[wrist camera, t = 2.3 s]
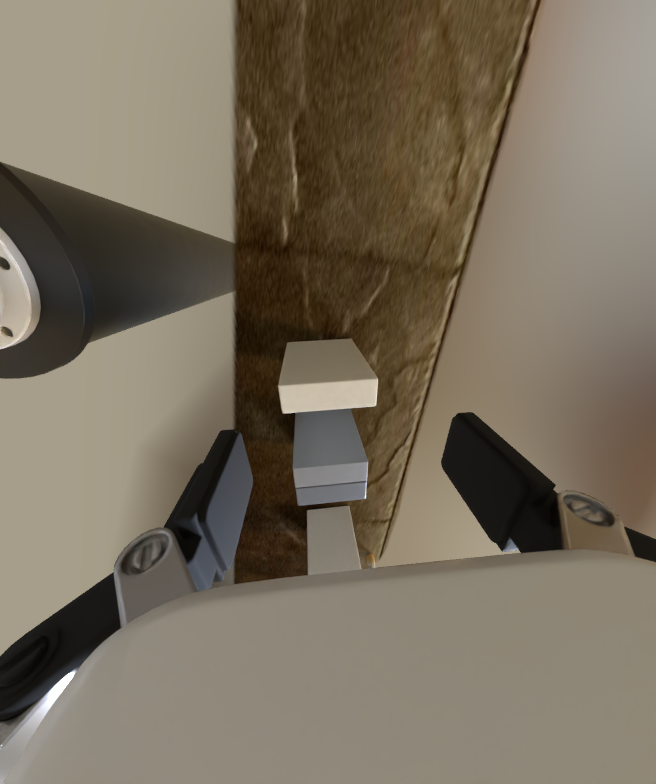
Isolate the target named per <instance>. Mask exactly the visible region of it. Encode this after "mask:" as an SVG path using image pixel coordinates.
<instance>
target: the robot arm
mask: <svg viewBox="0 0 656 784" xmlns="http://www.w3.org/2000/svg"><path fill="white" fill-rule="evenodd" d="M40 310H41V304H40V295H39V291H38V288H37V284H36V281H35V278H34V276H33V274H32V272H31V270H30V268H29V266H28V264H27V262H26V260H25V258H24V257H23V255H22V254H21V253H20V251H19V250H18V248H17V247H16V245H15V244H14V243H13V241H12V240H11V239H10V238H9V236H8V235H7V234H6V233H5V232H4V231H3V230H2V229H1V227H0V349H3V348H7V347H10V346H13V345H16V344H18V343H20V342H22V341H23V340H25V339H27V338H28V337H29V336H30V335H31V333H32V332H33V331H34V330H35V328H36V326H37V324H38V321H39V317H40ZM441 464H442V468H443V470H444V471H445V473H446V474H447V475H448V477H449V479H450V480H451V482H452V483H453V485H454V486H455V488H456V489H457V491H458V492H459V494H460V495H461V497H462V498H463V500H464V501H465V502H466V504H467V506H468V507H469V509H470V510H471V512H472V513H473V515H474V516H475V517H476V519H477V520H478V522H479V523H480V525H481V526H482V528H483V529H484V531H485V532H486V534H487V535H488V537H489V538H490V539H491V540H492V541H493V542H494V543H496V544H497V545H498V547H499V548H500V549H501V551H502V552H506V551H516V550H517V548H518V549H519V551H520V552H521V553H515V554H505V555H495V556H485V557H476V558H466V559H456V560H445V561H435V562H427V563H416V564H407V565H397V566H388V567H379V568H369V569H360V570H351V571H342V572H333V573H324V574H315V575H306V576H297V577H288V578H279V579H272V580H264V581H256V582H249V583H241V584H233V585H228V586H222V587H217V588H211V586H212V582H221V581H223V580H224V577H225V573H226V570H230V569H231V567H232V564H233V560H234V556H235V552H236V548H237V544H238V540H239V536H240V532H241V528H242V525H243V521H244V517H245V513H246V509H247V505H248V501H249V497H250V493H251V489H252V485H253V477H252V473H251V469H250V465H249V461H248V457H247V454H246V450H245V446H244V442H243V438H242V435H241V433H240V432H239V433H237V431H236V430H235V429H234V430H222V431H220V433H219V434H218V436H217V438H216V440H215V442H214V444H213V446H212V447H211V449H210V451H209V453H208V455H207V457H206V459H205V460H204V463H202V464H200V465H198V467H197V468H196V470H195V472H194V474H193V476H192V477H191V479H190V481H189V483H188V484H187V486H186V488H185V490H184V492H183V494H182V495H181V497H180V499H179V501H178V502H177V504H176V506H175V508H174V510H173V511H172V513H171V515H170V517H169V519H168V520H167V522H166V524H165V526H164V528H155V529H152V530H149V531H147V532H145V533H143V534H141V535H140V536H138V537H137V538H135V539H134V540H132V541H131V542H130V543H129V544H128V545H127V546H126V547H125V548H124V549H123V551H122V552H121V553H120V555H119V556H118V558H117V560H116V562H115V565H114V572H113V573H112V574H110V575H109V576H107V577H106V578H104V579H103V580H102V581H100V582H99V583H97V584H96V585H95V586H93V587H92V588H90V589H89V590H88V591H86V592H85V593H83V594H82V595H80V596H79V597H77V598H76V599H75V600H73V601H72V602H70V603H69V604H68V605H66V606H65V607H63V608H62V609H60V610H59V611H58V612H56V613H55V614H53V615H52V616H51V617H49V618H48V619H46V620H45V621H43V622H42V623H40V624H39V625H38V626H36V627H35V628H34V629H32V630H31V631H29V632H28V633H26V634H25V635H24V636H23V637H21V638H20V639H19V640H17V641H16V642H15V643H14V644H13V645H11V646H10V647H9V648H8V649H7V650H6V651H5V652H4V653H3V654H2V655H1V656H0V784H656V539H654V538H651V537H649V536H646V535H644V534H641V533H639V532H636V531H634V530H632V529H629V528H627V527H624V526H623V523H622V521H621V519H620V518H619V516H618V515H617V514H616V513H615V512H614V511H613V510H612V509H611V508H610V507H608V506H607V505H606V504H604V503H603V502H601V501H599V500H597V499H596V498H594V497H592V496H590V495H587V494H585V493H582V492H578V491H573V490H564V491H561V492H559V493H556V492H555V491H554V490H553V489H554V487H555V486H556V485H555V484H554V483H553V482H552V481H551V480H550V479H548V478H547V477H546V476H545V475H544V474H543V473H541V472H540V471H539V470H538V469H537V468H536V467H535V466H534V465H532V464H531V463H530V462H529V461H528V460H527V459H525V458H524V457H523V456H522V455H521V454H520V453H519V452H517V451H516V450H515V449H514V448H513V447H512V446H510V445H509V444H508V443H507V442H506V441H505V440H504V439H503V438H501V437H500V436H499V435H498V434H497V433H496V432H494V431H493V430H492V429H491V428H490V427H489V426H488V425H487V424H485V423H484V422H483V421H482V420H481V419H480V418H479V417H477V416H476V415H475V414H474V413H471V412H467V413H458V414H457V415H456V416H455V417H453V419H452V422H451V426H450V430H449V434H448V437H447V441H446V445H445V450H444V453H443V457H442V461H441Z"/></svg>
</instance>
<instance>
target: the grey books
mask: <svg viewBox="0 0 656 784" xmlns="http://www.w3.org/2000/svg"><path fill="white" fill-rule="evenodd" d="M367 470H368V460H367V457H366V454H365V451H364V448H363V445H362V442H361V439H360V436H359V433H358V430H357V427H356V424H355V421H354V418H353V415H352V412H351V409H338V410H325V411H313V412H300V413H295V430H294V449H293V476H294V482H295V488H296V496H297V503H298V506H301V505H311V504H320V503H330V502H339V501H348V500H358V499H365V498H366V484H367Z"/></svg>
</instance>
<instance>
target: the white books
mask: <svg viewBox="0 0 656 784" xmlns="http://www.w3.org/2000/svg"><path fill="white" fill-rule="evenodd" d="M360 569H361V565H360V560H359V555H358V549H357V544H356V539H355V534H354V529H353V524H352V518H351V513H350V508H349V506H341V507H332V508H322V509H313V510H307V527H306V575H315V574H324V573H333V572H342V571H351V570H360Z"/></svg>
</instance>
